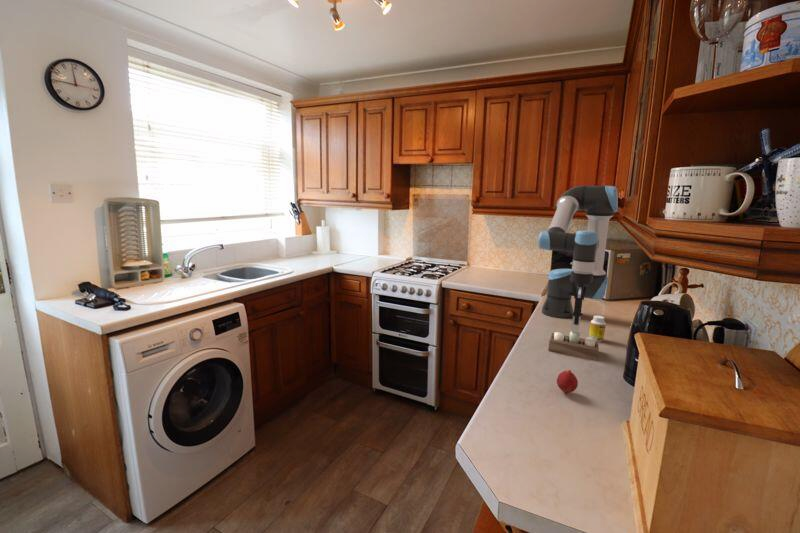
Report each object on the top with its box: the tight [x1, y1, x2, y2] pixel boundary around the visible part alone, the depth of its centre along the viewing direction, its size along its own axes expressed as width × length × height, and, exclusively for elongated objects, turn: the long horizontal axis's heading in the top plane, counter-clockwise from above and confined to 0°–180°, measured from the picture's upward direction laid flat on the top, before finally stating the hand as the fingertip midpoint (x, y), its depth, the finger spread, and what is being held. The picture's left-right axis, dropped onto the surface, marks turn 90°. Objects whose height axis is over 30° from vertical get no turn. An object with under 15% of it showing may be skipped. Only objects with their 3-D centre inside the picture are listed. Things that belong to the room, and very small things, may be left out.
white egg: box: [584, 336, 596, 347], centre depth 145 cm, size 4×4×5 cm
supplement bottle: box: [588, 315, 607, 343], centre depth 159 cm, size 6×6×10 cm
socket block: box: [547, 332, 600, 361], centre depth 147 cm, size 10×17×4 cm, turn 63°
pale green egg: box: [568, 330, 581, 344], centre depth 147 cm, size 4×4×5 cm
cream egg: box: [554, 331, 565, 341], centre depth 149 cm, size 4×4×5 cm
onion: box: [556, 368, 579, 395], centre depth 115 cm, size 6×6×8 cm
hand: (575, 331), depth 146 cm, fingers closed
